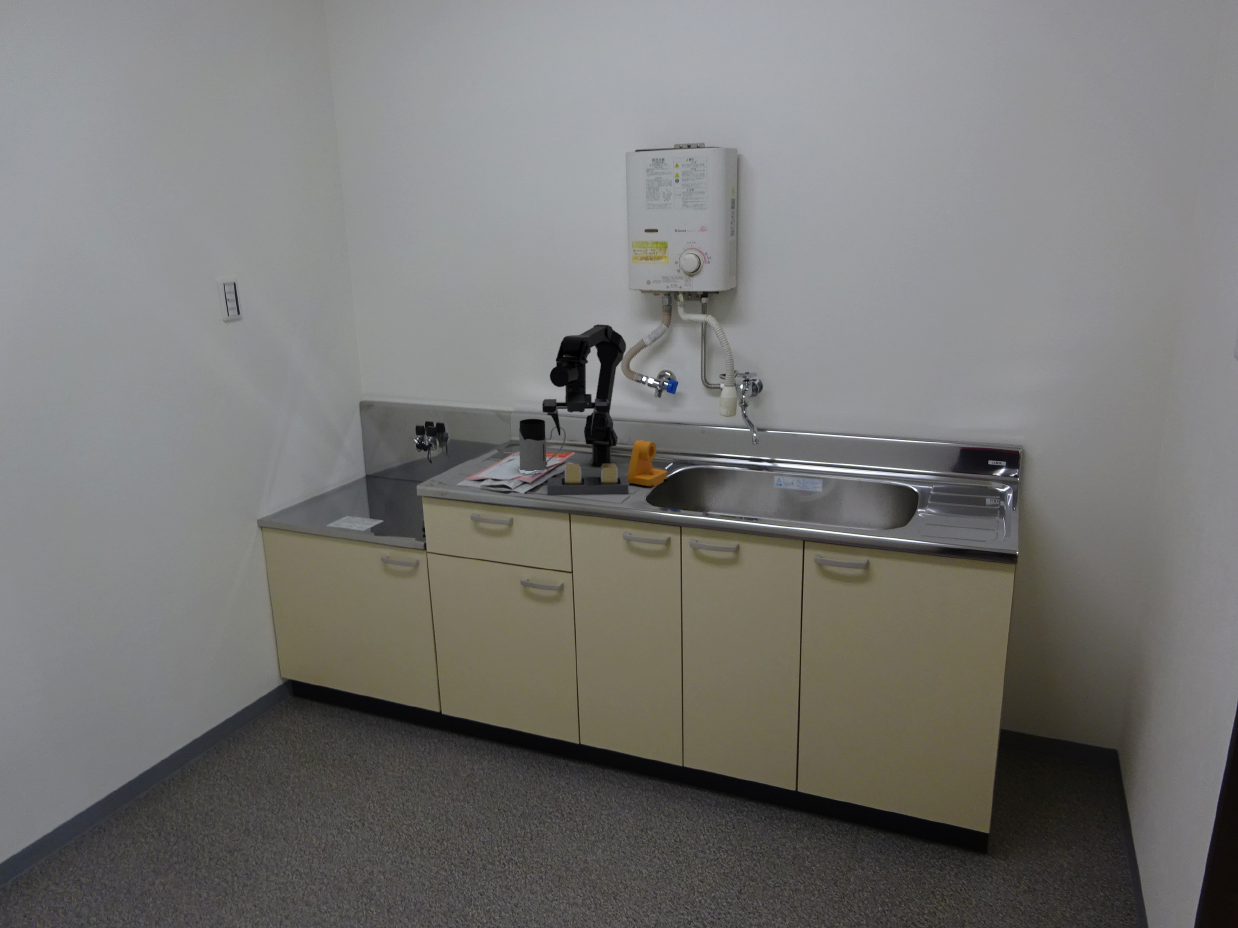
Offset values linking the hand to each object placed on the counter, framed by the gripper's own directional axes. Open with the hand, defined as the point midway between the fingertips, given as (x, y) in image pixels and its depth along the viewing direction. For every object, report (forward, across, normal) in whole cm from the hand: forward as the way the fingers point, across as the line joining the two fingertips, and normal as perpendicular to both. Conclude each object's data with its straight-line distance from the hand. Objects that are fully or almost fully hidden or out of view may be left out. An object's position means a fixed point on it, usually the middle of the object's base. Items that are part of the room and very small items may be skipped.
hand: (575, 435), depth 249 cm
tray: (+13, +3, -11) cm, 17 cm away
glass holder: (+13, -10, +9) cm, 19 cm away
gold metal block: (+13, -1, -11) cm, 17 cm away
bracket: (+13, +20, -4) cm, 25 cm away
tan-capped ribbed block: (+13, +9, -11) cm, 19 cm away
